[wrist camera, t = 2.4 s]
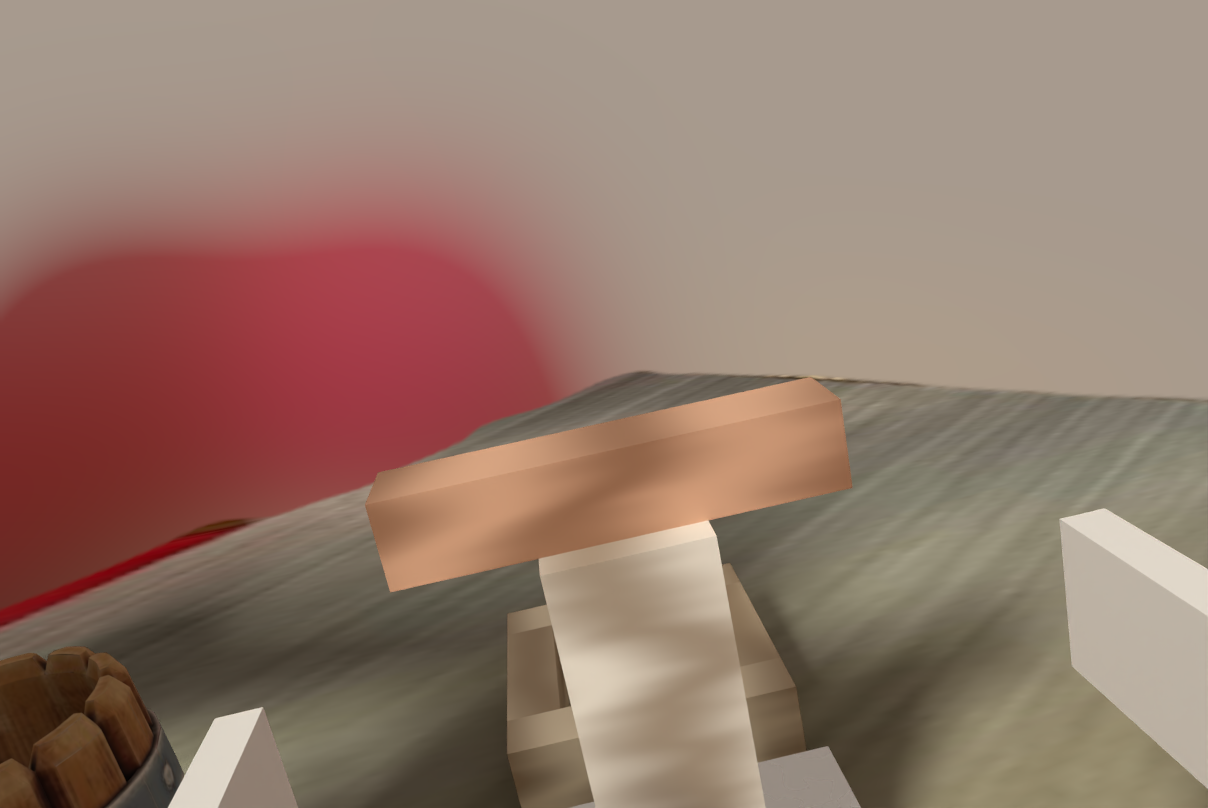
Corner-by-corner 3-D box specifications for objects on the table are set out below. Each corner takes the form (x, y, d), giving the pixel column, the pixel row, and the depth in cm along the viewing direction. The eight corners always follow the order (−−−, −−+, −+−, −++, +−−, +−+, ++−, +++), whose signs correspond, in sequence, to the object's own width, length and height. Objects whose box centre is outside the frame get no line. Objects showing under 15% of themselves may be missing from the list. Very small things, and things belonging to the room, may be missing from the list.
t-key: (537, 1130, 27) (358, 520, 22) (533, 998, 32) (382, 461, 26) (936, 1029, 28) (854, 409, 23) (879, 913, 32) (800, 369, 27)
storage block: (528, 835, 39) (507, 754, 38) (524, 679, 51) (507, 613, 50) (809, 768, 40) (796, 686, 39) (741, 629, 51) (729, 562, 50)
